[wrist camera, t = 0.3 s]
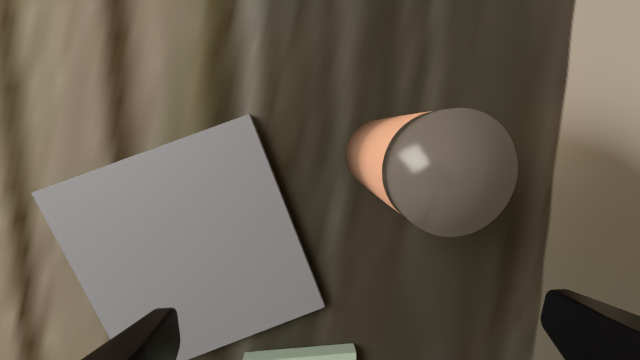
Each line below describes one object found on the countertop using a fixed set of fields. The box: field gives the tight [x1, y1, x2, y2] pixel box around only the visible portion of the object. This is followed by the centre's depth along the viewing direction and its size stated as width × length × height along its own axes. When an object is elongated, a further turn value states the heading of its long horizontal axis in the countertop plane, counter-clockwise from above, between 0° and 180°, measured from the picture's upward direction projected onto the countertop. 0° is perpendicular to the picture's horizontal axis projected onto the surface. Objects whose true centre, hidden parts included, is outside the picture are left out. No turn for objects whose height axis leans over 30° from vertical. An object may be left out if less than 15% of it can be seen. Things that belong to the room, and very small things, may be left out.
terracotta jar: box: [346, 108, 518, 237], centre depth 16 cm, size 5×5×10 cm
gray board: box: [31, 114, 325, 360], centre depth 21 cm, size 14×14×1 cm
